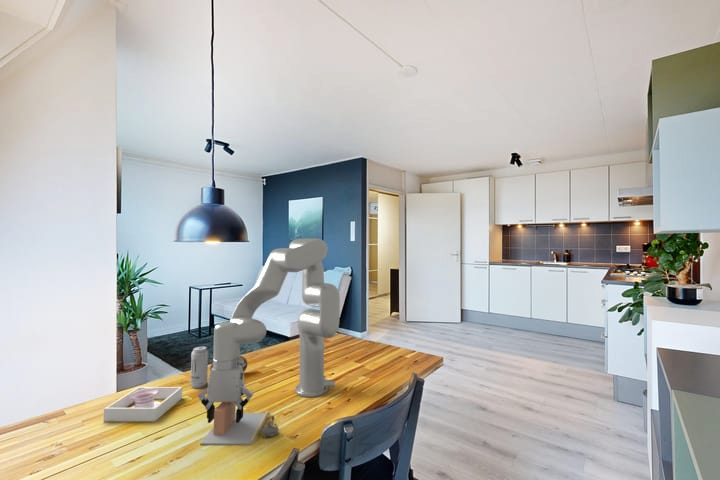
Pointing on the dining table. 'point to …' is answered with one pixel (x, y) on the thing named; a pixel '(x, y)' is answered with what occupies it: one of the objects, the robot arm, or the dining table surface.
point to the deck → (224, 417)
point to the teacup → (145, 398)
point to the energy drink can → (199, 367)
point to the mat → (239, 431)
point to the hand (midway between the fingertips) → (225, 420)
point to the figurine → (270, 429)
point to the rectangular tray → (121, 413)
